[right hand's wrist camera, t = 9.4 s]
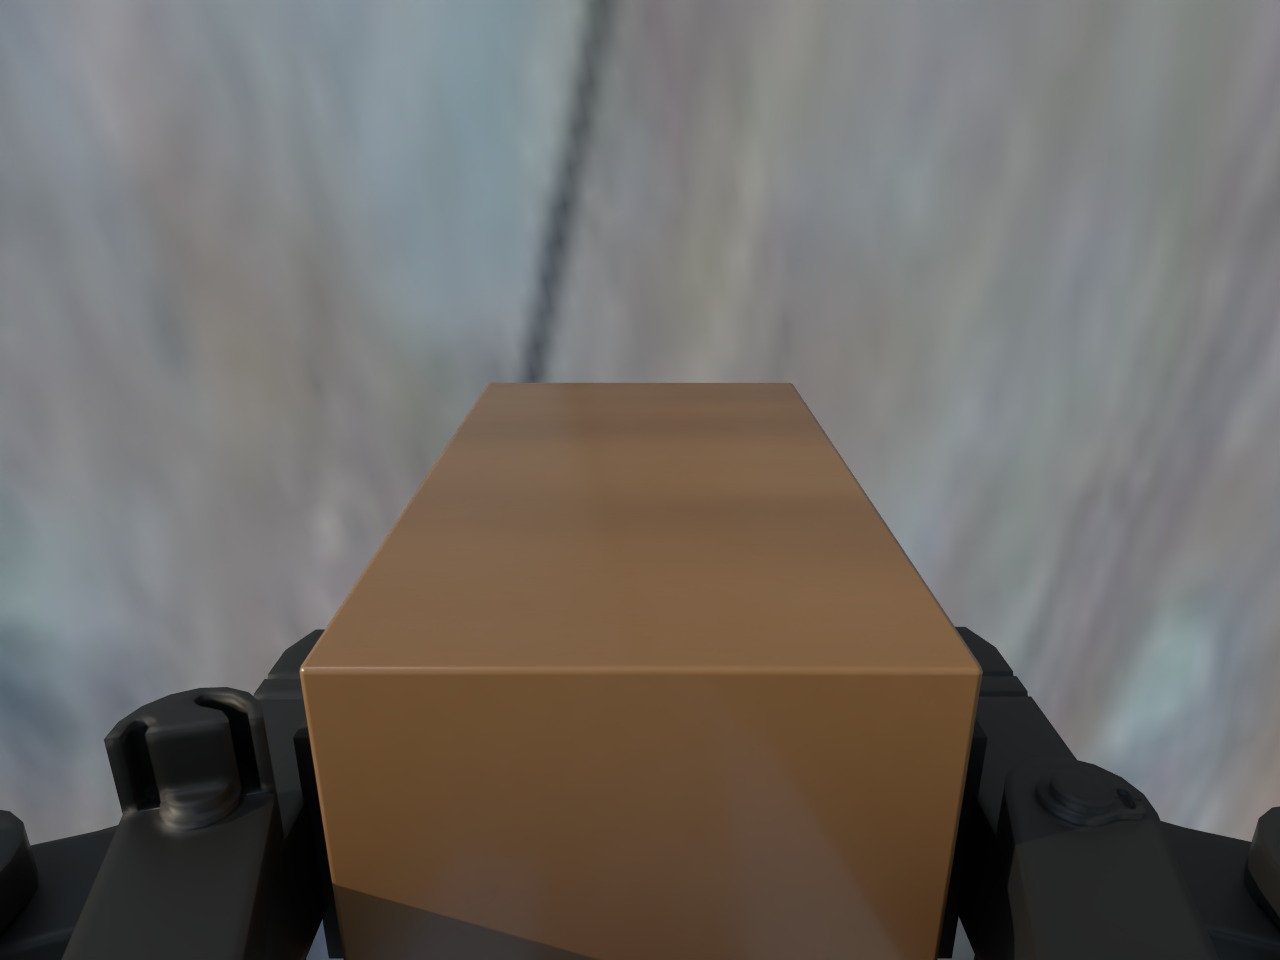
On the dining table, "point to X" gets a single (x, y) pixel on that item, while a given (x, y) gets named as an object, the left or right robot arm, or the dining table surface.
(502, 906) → the bar
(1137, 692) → the dining table surface
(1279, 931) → the right robot arm
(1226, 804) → the dining table surface
